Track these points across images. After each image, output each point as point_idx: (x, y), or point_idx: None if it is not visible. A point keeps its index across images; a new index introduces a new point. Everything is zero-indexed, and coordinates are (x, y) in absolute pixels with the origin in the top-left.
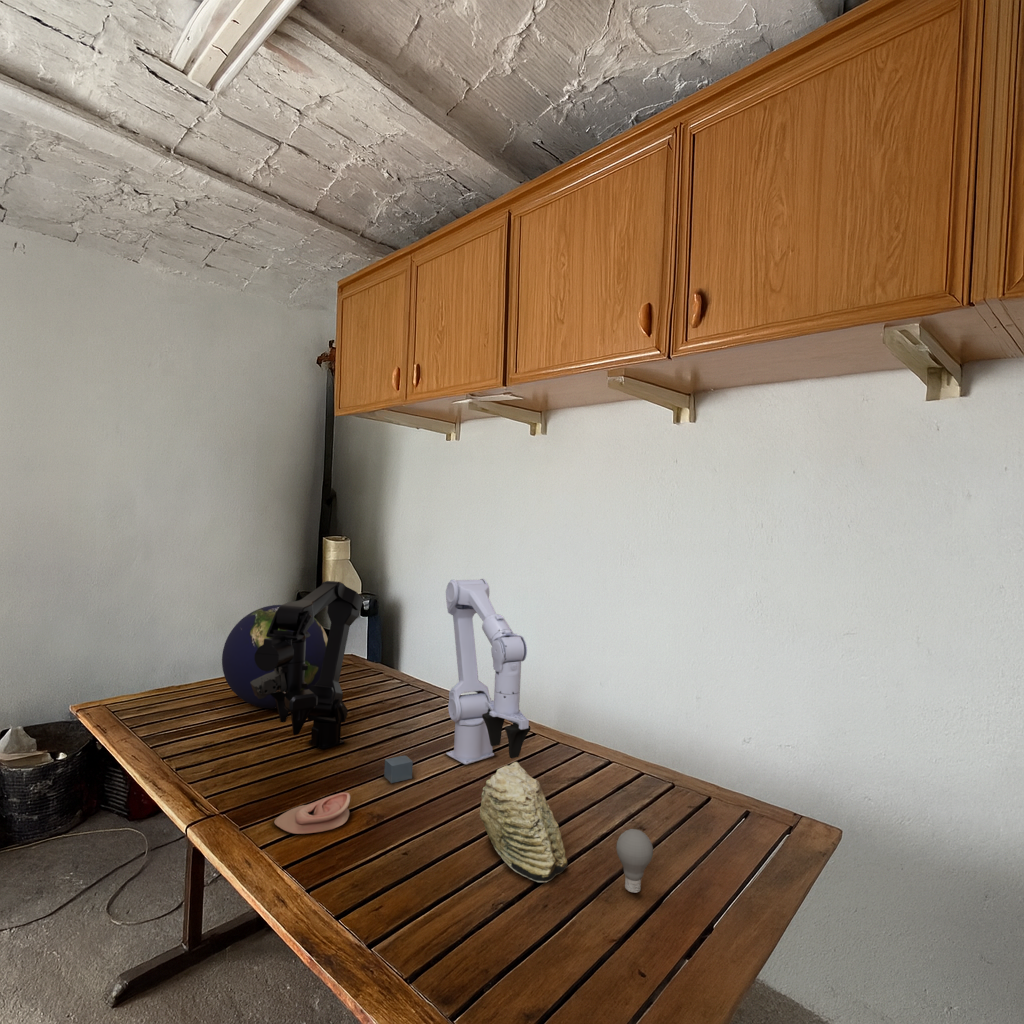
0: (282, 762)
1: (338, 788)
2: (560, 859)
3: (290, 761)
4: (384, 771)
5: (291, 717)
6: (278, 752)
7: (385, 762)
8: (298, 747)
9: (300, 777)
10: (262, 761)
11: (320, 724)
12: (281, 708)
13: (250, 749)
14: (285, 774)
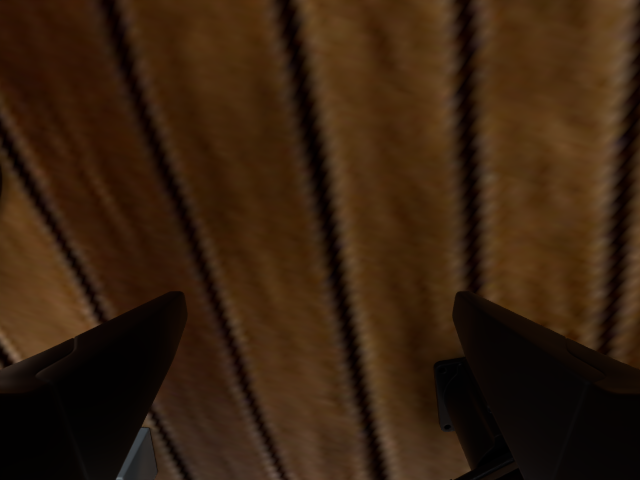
0: (418, 222)
1: (118, 307)
2: None
3: (409, 249)
4: (141, 441)
5: (69, 358)
6: (519, 237)
7: (120, 470)
8: (512, 308)
9: (255, 236)
10: (477, 159)
11: (493, 434)
12: (513, 359)
13: (632, 151)
14: (306, 200)
